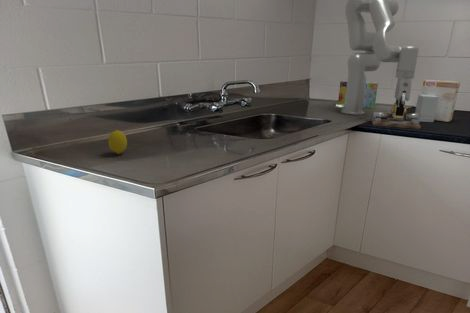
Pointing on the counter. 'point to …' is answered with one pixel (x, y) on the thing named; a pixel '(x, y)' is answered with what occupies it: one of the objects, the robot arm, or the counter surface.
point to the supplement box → (426, 107)
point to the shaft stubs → (394, 121)
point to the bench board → (386, 123)
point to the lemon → (117, 141)
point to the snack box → (368, 95)
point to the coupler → (393, 110)
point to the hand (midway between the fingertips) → (398, 114)
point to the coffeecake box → (442, 97)
